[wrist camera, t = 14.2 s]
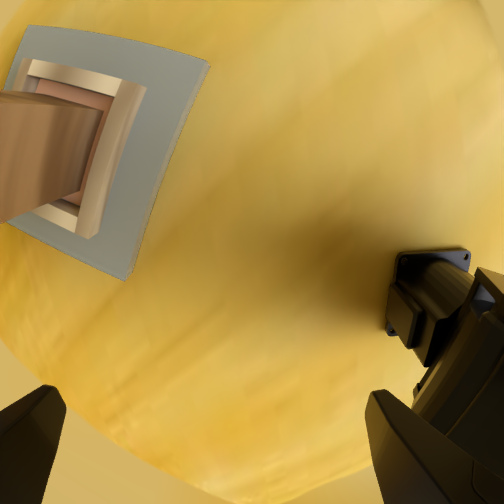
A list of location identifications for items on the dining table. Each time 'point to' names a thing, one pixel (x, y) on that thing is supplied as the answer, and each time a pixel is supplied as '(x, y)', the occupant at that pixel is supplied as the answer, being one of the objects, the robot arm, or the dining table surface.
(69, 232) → the grey square framed tray
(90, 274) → the dining table surface
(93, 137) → the walnut block
